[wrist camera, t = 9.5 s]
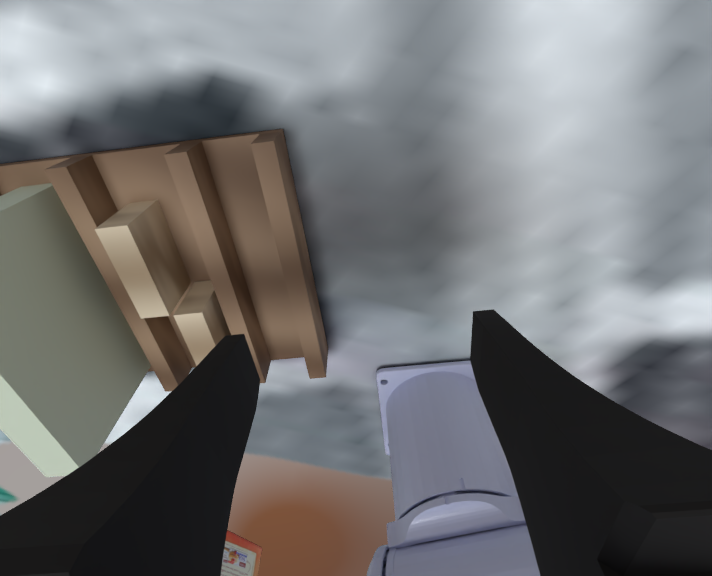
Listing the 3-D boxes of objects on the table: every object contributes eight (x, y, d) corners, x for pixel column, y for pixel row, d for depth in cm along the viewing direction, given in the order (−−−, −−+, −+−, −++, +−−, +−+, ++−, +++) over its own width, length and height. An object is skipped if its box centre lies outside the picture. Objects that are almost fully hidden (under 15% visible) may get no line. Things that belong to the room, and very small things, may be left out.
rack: (328, 348, 26) (325, 377, 24) (105, 369, 27) (83, 398, 25) (282, 128, 19) (273, 140, 16) (-25, 167, 20) (-72, 184, 17)
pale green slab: (154, 360, 26) (84, 474, 19) (125, 362, 26) (46, 477, 19) (59, 181, 19) (-97, 259, 13) (20, 186, 19) (-155, 266, 13)
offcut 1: (191, 282, 23) (169, 315, 20) (166, 285, 23) (141, 318, 20) (157, 199, 20) (126, 225, 17) (129, 203, 20) (94, 228, 17)
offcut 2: (243, 344, 25) (230, 382, 22) (220, 347, 25) (205, 384, 23) (219, 279, 22) (202, 312, 20) (194, 282, 23) (173, 315, 20)
